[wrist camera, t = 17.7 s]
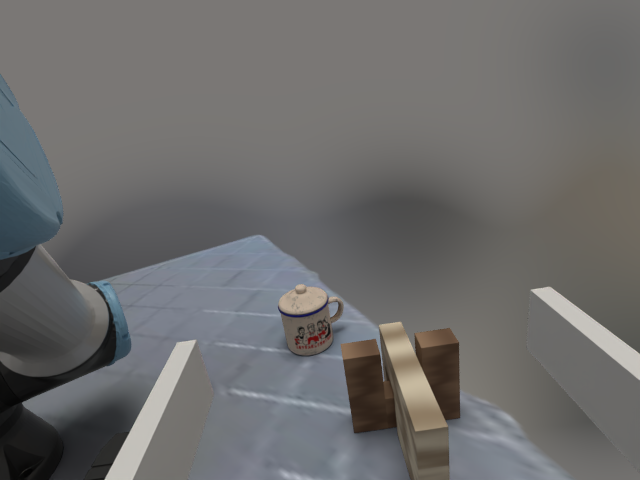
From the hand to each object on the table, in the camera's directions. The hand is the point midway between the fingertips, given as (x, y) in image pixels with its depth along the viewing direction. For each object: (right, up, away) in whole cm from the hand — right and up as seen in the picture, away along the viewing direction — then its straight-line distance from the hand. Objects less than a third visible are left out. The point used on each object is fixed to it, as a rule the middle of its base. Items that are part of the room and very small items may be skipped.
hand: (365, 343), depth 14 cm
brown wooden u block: (+10, -20, +35) cm, 41 cm away
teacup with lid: (-2, -15, +54) cm, 56 cm away
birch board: (+10, -21, +31) cm, 39 cm away
